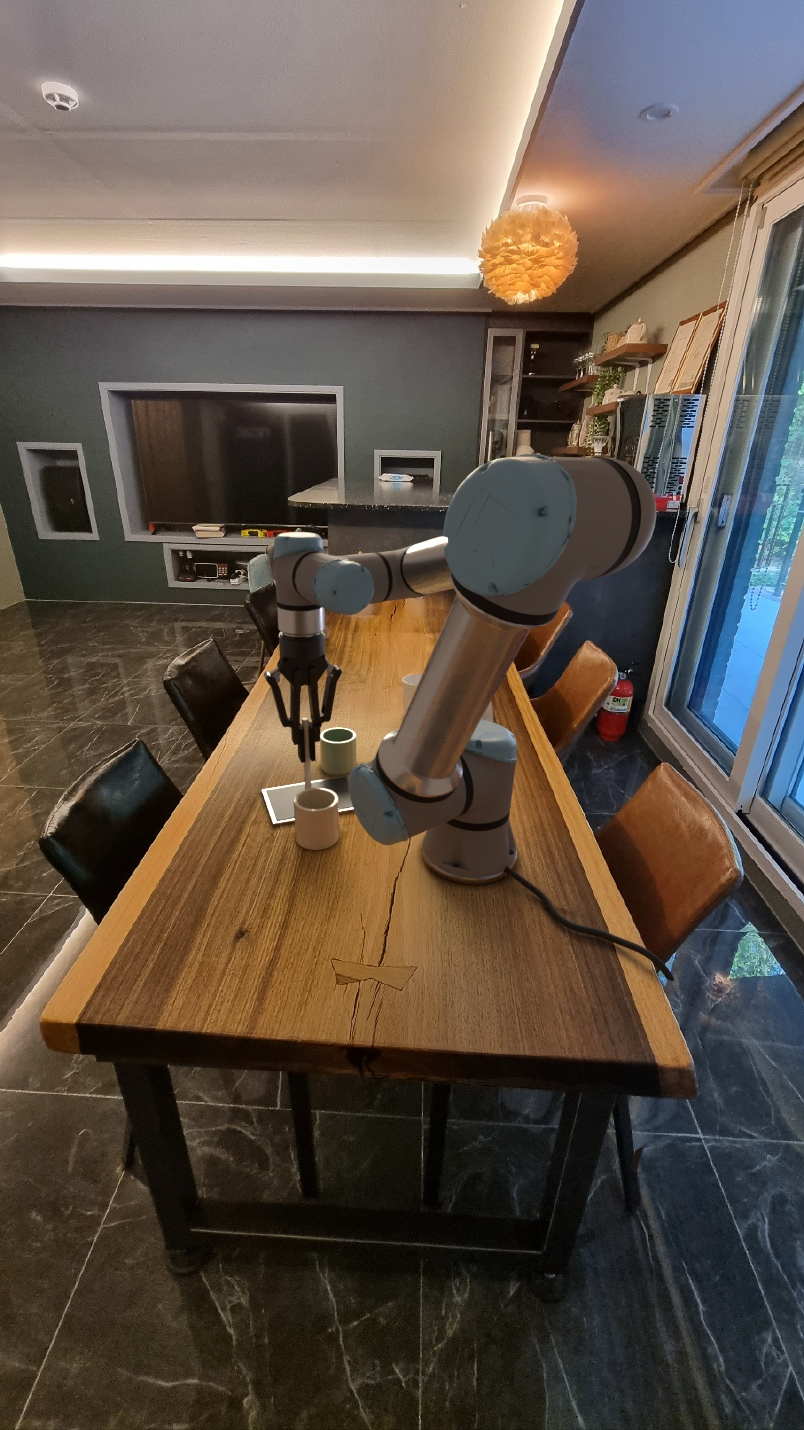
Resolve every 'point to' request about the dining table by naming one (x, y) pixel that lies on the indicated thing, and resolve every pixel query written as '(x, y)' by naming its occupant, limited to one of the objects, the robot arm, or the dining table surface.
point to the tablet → (283, 797)
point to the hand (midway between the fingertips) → (306, 758)
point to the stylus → (307, 754)
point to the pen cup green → (338, 751)
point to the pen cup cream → (316, 818)
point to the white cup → (409, 689)
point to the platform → (488, 714)
